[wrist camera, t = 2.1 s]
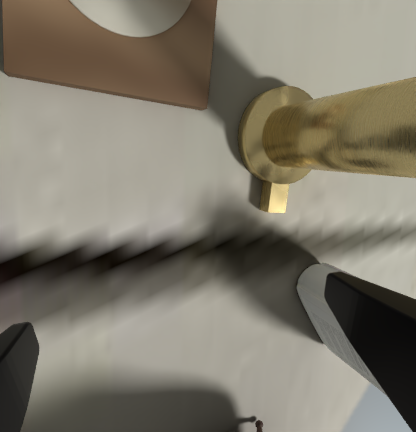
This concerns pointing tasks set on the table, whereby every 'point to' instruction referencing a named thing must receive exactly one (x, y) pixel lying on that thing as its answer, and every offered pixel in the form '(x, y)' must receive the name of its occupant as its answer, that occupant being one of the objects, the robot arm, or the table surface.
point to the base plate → (114, 46)
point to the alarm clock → (259, 425)
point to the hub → (328, 135)
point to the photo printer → (328, 318)
